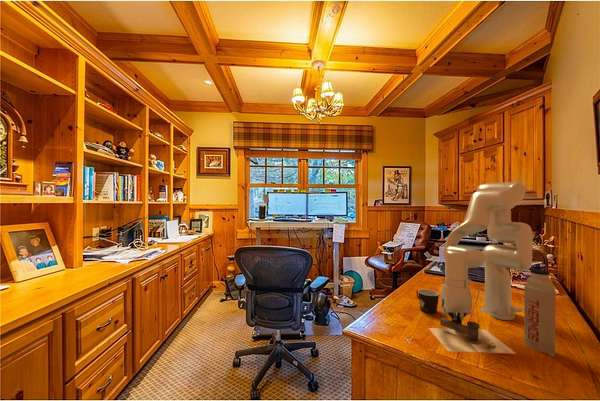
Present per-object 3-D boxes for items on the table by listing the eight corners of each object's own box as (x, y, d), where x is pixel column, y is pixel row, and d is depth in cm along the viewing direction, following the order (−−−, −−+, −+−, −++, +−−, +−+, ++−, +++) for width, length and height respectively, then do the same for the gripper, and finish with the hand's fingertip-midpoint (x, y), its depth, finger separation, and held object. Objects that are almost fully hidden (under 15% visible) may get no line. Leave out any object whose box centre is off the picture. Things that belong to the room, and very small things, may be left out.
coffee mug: (441, 319, 116) (441, 296, 116) (420, 317, 118) (420, 295, 118) (433, 308, 128) (434, 287, 128) (414, 306, 130) (414, 286, 129)
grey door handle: (496, 344, 92) (496, 329, 92) (492, 348, 89) (492, 332, 89) (443, 325, 106) (443, 312, 105) (439, 328, 103) (439, 314, 103)
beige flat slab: (486, 333, 104) (486, 328, 104) (516, 358, 88) (516, 351, 88) (428, 331, 105) (428, 326, 105) (448, 355, 90) (448, 349, 90)
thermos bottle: (539, 358, 88) (540, 273, 88) (518, 344, 96) (518, 267, 96) (561, 356, 89) (562, 273, 89) (538, 343, 97) (538, 267, 96)
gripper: (470, 278, 106) (470, 324, 107) (432, 279, 107) (432, 324, 107) (482, 285, 99) (482, 334, 99) (441, 285, 99) (441, 334, 100)
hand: (456, 328), depth 103 cm, fingers closed
